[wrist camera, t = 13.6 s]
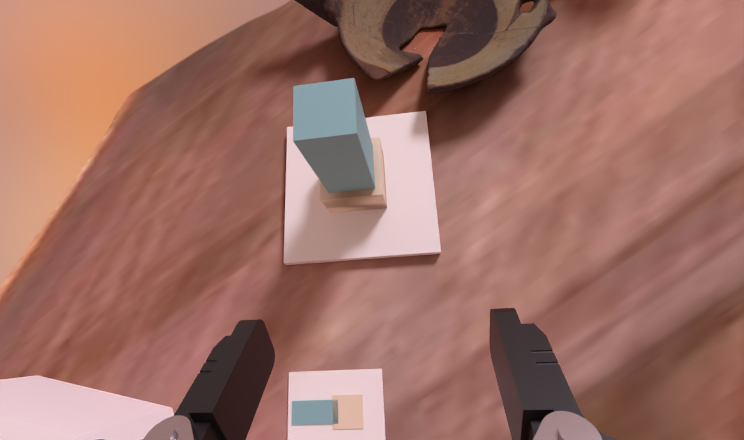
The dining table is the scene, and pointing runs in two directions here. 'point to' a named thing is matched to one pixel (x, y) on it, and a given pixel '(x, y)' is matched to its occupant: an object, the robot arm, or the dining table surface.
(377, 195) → the lower block
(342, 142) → the tall block
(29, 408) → the wide white block
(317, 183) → the build board
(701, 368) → the dining table surface
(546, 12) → the oil lamp
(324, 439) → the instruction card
